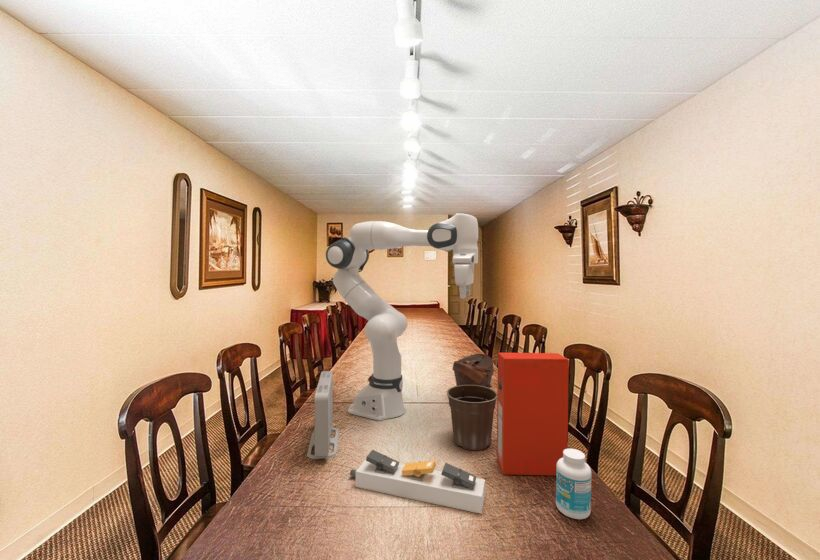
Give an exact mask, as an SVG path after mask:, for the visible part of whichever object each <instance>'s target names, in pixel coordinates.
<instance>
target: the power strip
mask: <svg viewBox="0 0 820 560" xmlns="http://www.w3.org/2000/svg"><path fill="white" fill-rule="evenodd" d="M404 466H405V464H402V463H399V466H398V468H397V469H396V471H395V472H394V474H393V473H391V472H389V471H387V470H385V469H382V470H379V469H377V467H376V465H374V464H372V463H370V462H368V461H366V459H365V460H364V461H363V462H362V463H361V464H360V465H359V467H358V468H357V469H351V470H350V472H349V476H350V477H355V488H359V489H362V490H363V489H364V490H369V491H372V492H378V493H381V494H382V493H383V494H386V495H392V496H396V497H402V498H404V499H405V498H406V499H410V500H416V501H418V502H419V501H420V502H425V503H428V504H434V505H439V506H443V507H448V508H451V509H452V508H453V509H456V510H463V511H468V512H471V513H476V514H481V515H482V513H483V508H484V503H485V496H486V479H484V478H479V477H476V481H475V485H474V488H473V489H471V488H469V487H467V486H465V485H463V484H460V485H456V484H455V483H454V482H453V480H452V479H449V478H447V477H445V476H443V475H441V474H442V470H441V471H440V470H436V469H434V471H433V473H428V474H421V476H420V477H416V476H414V475H404V476H403V475H402V469H403V468H404Z"/></svg>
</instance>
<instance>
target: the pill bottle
mask: <svg viewBox="0 0 820 560" xmlns="http://www.w3.org/2000/svg"><path fill="white" fill-rule="evenodd" d="M592 473H593V472H592V468H591V467H590V466H589V464H588V463H587V462H586V454H585V453H584V452H583V451H581V450H579V449H576V448H567V449H565V450H564V451H563V458H560V459H559V460H558V462H557V466H556V475H555V476H556V479H555V505H556V507H557V509H558V511H559V512H560V513H562V514H563V515H564V516H566V517H568V518H571V519H574V520H584V519H587V518H589V516H590V515H591V511H592V510H591V505H592V502H591V501H592Z"/></svg>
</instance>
